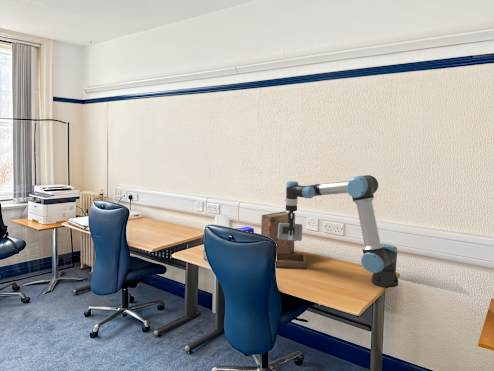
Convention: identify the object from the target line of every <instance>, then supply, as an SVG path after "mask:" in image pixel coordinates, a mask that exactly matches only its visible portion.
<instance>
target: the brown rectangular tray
mask: <svg viewBox="0 0 494 371" xmlns="http://www.w3.org/2000/svg"><path fill="white" fill-rule="evenodd" d="M279 267H280V269H281V268H282V269H283V268H284V269H304V270H306V269H307V260H306V256H305V254H300V253H299V254H297V253H296V254H295V253H292V254H277V261H276V267H275V268H279Z"/></svg>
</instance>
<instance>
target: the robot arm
mask: <svg viewBox="0 0 494 371" xmlns="http://www.w3.org/2000/svg"><path fill="white" fill-rule="evenodd" d="M285 188H286V190H285V192H286V195H285V196H286V197H285V200H284V201H285V211H286V212H287V213H288V219H289V229H288V230H289V238H288V240H293V220H294V213H295V212H297V211H298V202H299V201H298V199H299V198H303V199H304V198H305V199H312V198H314V197H317V196H318V197H319V196H320V197H321V196H329V195H341V194H348V195H349V196H350V197H351V198H352V202H354V204H356V208H357V213H358V219H359V224H360V228H361V234H362V235H361V236H362V239H363V244H364V245H363V248H362V253H363V255H362V256H361V258H360V259H361V261H360V262H361V263H360V264H361V266H362V267H363V269H365V271H367V272H369V273H371V274H372V275H371V277H370V282H371V283H372V284H373V285H375V286H378V287H383V288H396V287H398V286H399V278H398V275H397V259H398V253H399V251H398V248H397V246H396V245H392V244H390V243H389V244H388V243H381V240H380V236H379V230H378V225H377V220H376V216H375V215H376V214H375V210H374V206H373V204H374V203H373V200H374V199H375V196H374V194H375V193H376V192H377V191H378V189H379V182H378V180H377V178H376V177H374V176H373V175H370V174H369V175H368V174H367V175H366V174H365V175H357V176H354V177H352V178H350V179H349V180H344V181H335V182H327V183H316V184H309V185H301V184H299V182H298V181H295V180H293V181H292V180H289V181H287V182H286V187H285Z"/></svg>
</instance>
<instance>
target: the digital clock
mask: <svg viewBox="0 0 494 371" xmlns="http://www.w3.org/2000/svg"><path fill="white" fill-rule="evenodd" d="M288 229H289V223H279V225H278V239H282V240H288V238H289V230H288ZM302 240H303V224H301V223H295V224H293V240H289V241H294V242H298V241H299V242H300V241H302Z"/></svg>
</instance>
